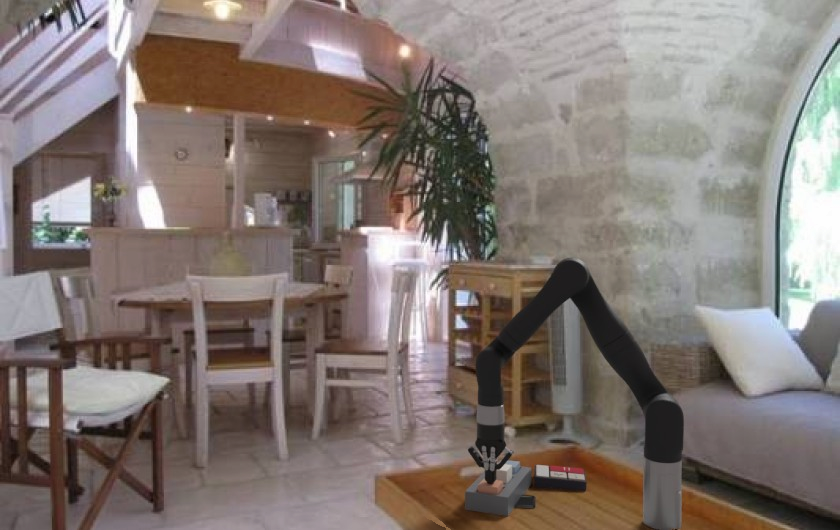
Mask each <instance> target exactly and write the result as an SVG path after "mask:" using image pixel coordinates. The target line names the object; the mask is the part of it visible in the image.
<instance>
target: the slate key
mask: <svg viewBox="0 0 840 530" xmlns="http://www.w3.org/2000/svg"><path fill="white" fill-rule="evenodd" d="M500 462H501V460H500V461H498V463H500ZM505 464H508V465H512V474H517V472H518V471H519V470H520V466H521V461H515V460H510V459H509V460H508V461H507V462H506V463H505Z"/></svg>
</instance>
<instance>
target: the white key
mask: <svg viewBox="0 0 840 530" xmlns="http://www.w3.org/2000/svg"><path fill="white" fill-rule="evenodd" d="M498 463H499V462H497V464H498ZM511 479H512V465H508V464H504V465H503V467H502V468H501V469H500V470H496V480H500V481H503V483H504V484H508V483H509V482H510V480H511Z"/></svg>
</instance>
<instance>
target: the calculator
mask: <svg viewBox="0 0 840 530" xmlns="http://www.w3.org/2000/svg"><path fill="white" fill-rule="evenodd" d="M585 471H586V470H584V468H580V467H570V466H569V467H568V466H558V465H550V466H549V465H543V464H542V465H541V464H536V465H534V474H533V488H534V489H543V490H544V489H547V490H549V489H553V490H565V491H567V490H568V491H578V492H579V491H583V492H585V491H587V482H588V481H587V477H586V472H585Z"/></svg>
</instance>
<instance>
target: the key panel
mask: <svg viewBox="0 0 840 530" xmlns="http://www.w3.org/2000/svg"><path fill="white" fill-rule="evenodd" d="M532 471H533V469H532V467H530V466H529V467H528V466H521V465H520V470H519V471H518V472H517V474H512V479H511V480H510V482H509V483H508V484H504V483H503V490H502V492H501V493H500V494H499V495H495V494H488V493H481V492H478V484H479V483H480V482H481V481H482V480H483V479H484V478H485V470H484V471H483V472H482V473H481V474H480V476H478V477H477V478H476V479H475V481H473V483H472V484H471V485H469V487H468V488H466V490H465V491H464V510H465V511H473V512H478V513H485V514H492V515H499V516H506V517H509V516H510V514H511V513H512V511H513V510H514V509H513V508H515V504H516V503H517V501H518V500H519V499H520V497H521V496H522V495H526V492H527V491H528V490H529V488H530V487H531V485H532V484H533V483H532V482H533V481H532V480H533V479H532V478H533V477H532V476H533V475H532V474H533V473H532Z"/></svg>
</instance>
